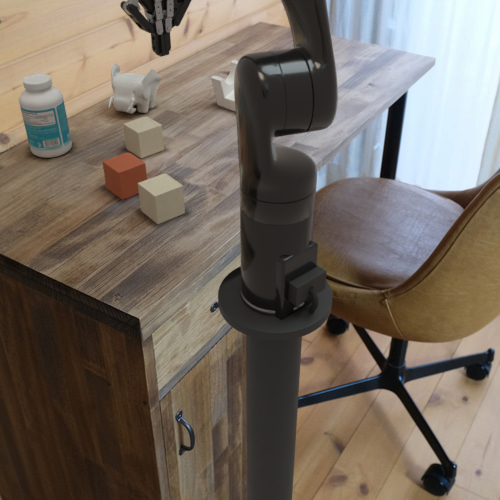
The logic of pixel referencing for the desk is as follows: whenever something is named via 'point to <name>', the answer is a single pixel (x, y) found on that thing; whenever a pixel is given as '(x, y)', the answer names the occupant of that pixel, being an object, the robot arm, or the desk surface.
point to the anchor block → (124, 174)
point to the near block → (161, 198)
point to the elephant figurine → (133, 90)
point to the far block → (143, 136)
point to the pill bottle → (44, 117)
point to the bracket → (225, 88)
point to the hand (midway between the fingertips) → (162, 54)
